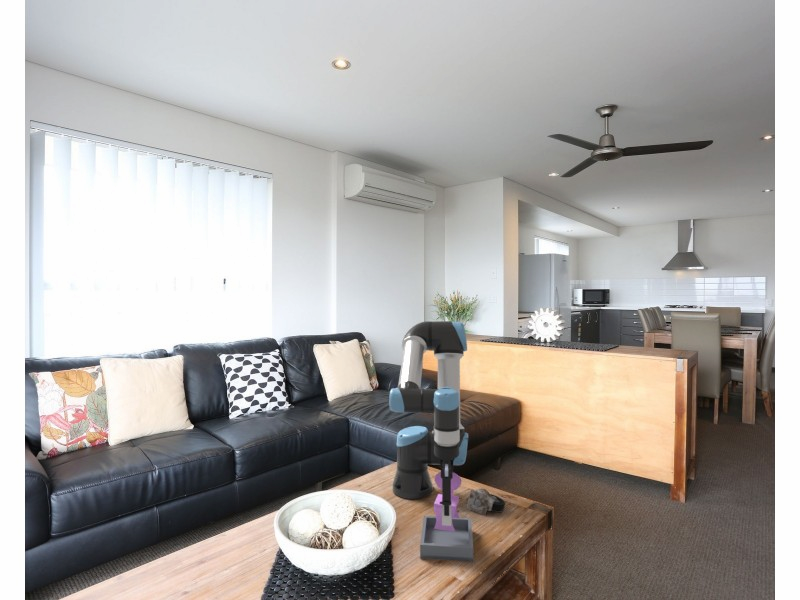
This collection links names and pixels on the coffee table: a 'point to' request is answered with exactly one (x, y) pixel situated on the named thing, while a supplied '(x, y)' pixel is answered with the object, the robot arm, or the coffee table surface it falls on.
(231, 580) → the coffee table surface
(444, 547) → the tray
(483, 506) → the grey brown rock
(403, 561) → the coffee table surface
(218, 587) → the coffee table surface
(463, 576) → the coffee table surface
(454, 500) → the toy chair
